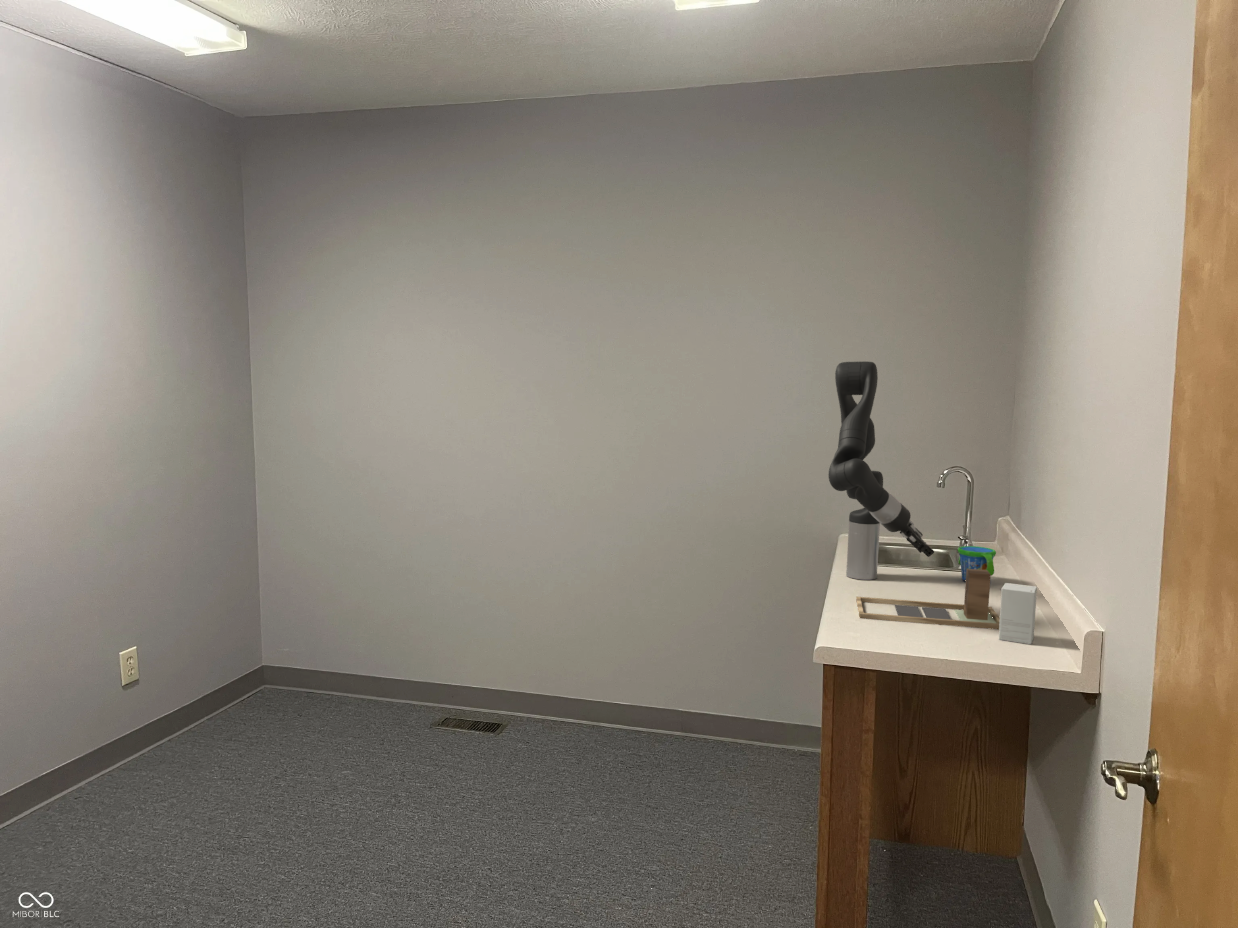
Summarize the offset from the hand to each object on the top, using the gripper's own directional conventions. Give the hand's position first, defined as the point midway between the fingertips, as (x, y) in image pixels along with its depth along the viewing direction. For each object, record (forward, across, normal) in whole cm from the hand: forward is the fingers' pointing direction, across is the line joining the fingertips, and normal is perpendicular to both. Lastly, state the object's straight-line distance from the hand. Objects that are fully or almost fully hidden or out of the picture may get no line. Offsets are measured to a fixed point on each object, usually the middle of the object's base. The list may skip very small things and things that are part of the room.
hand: (925, 545), depth 236 cm
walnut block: (+14, -17, +2) cm, 22 cm away
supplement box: (+12, -34, -3) cm, 36 cm away
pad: (+14, -18, +2) cm, 23 cm away
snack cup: (+39, +21, +1) cm, 44 cm away
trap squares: (+6, -14, +11) cm, 19 cm away
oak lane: (+6, -14, +11) cm, 19 cm away
